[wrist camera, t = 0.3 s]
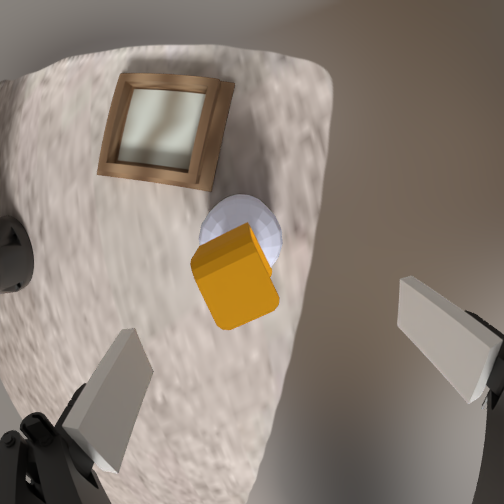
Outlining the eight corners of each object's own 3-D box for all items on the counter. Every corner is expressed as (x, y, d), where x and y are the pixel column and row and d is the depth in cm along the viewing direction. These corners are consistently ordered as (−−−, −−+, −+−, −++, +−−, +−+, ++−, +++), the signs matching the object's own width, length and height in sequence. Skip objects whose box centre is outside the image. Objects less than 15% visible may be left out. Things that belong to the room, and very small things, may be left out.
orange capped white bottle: (227, 266, 41) (211, 379, 17) (198, 211, 38) (133, 263, 15) (282, 240, 40) (337, 327, 16) (255, 182, 38) (277, 189, 14)
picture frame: (99, 174, 36) (86, 175, 32) (122, 77, 32) (111, 69, 28) (211, 191, 38) (208, 192, 34) (235, 85, 34) (234, 75, 30)
